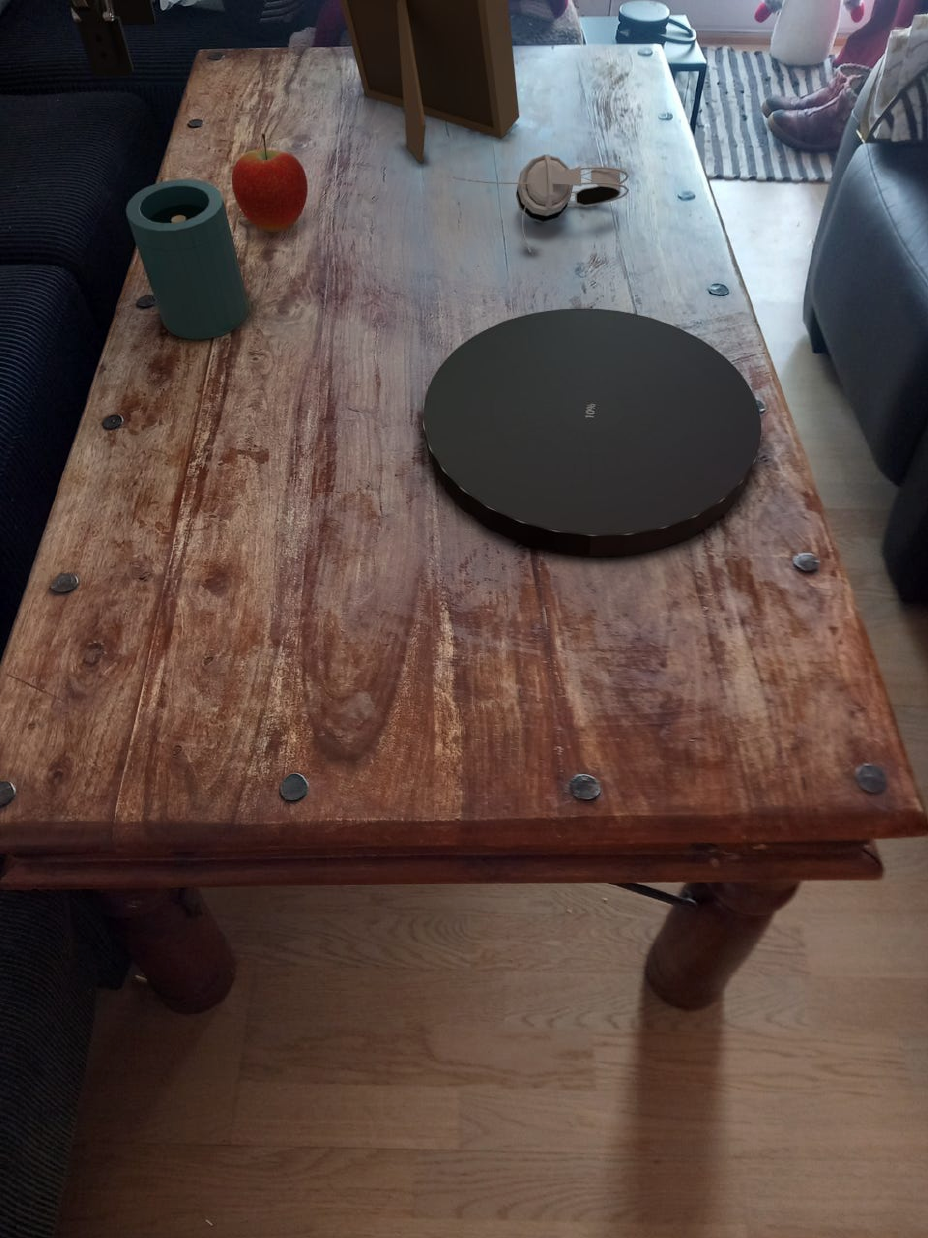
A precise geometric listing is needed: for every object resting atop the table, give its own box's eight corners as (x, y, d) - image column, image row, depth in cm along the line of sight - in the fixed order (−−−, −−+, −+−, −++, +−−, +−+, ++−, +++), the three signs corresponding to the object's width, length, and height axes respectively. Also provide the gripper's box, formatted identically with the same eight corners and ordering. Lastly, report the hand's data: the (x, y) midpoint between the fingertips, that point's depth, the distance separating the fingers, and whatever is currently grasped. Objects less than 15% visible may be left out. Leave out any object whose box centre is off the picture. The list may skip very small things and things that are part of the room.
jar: (155, 341, 94) (117, 232, 84) (169, 288, 99) (135, 179, 89) (243, 338, 94) (215, 229, 84) (253, 285, 99) (228, 177, 89)
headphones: (445, 206, 107) (614, 199, 108) (453, 257, 101) (632, 249, 102) (445, 135, 100) (626, 128, 101) (454, 186, 94) (645, 178, 96)
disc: (429, 333, 94) (427, 307, 91) (724, 329, 93) (731, 304, 91) (419, 560, 76) (417, 536, 74) (783, 557, 75) (793, 533, 73)
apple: (231, 241, 104) (210, 153, 96) (257, 203, 109) (239, 115, 100) (298, 249, 103) (282, 161, 95) (321, 210, 107) (308, 123, 99)
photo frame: (383, 83, 126) (364, -147, 106) (519, 124, 118) (526, -115, 98) (315, 129, 119) (281, -109, 98) (455, 176, 111) (448, -70, 91)
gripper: (25, -260, 67) (102, 7, 80) (-48, -196, 56) (54, 97, 70) (129, -262, 67) (188, 5, 80) (74, -199, 56) (153, 95, 70)
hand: (126, 48), depth 75 cm, fingers open, 9 cm apart
